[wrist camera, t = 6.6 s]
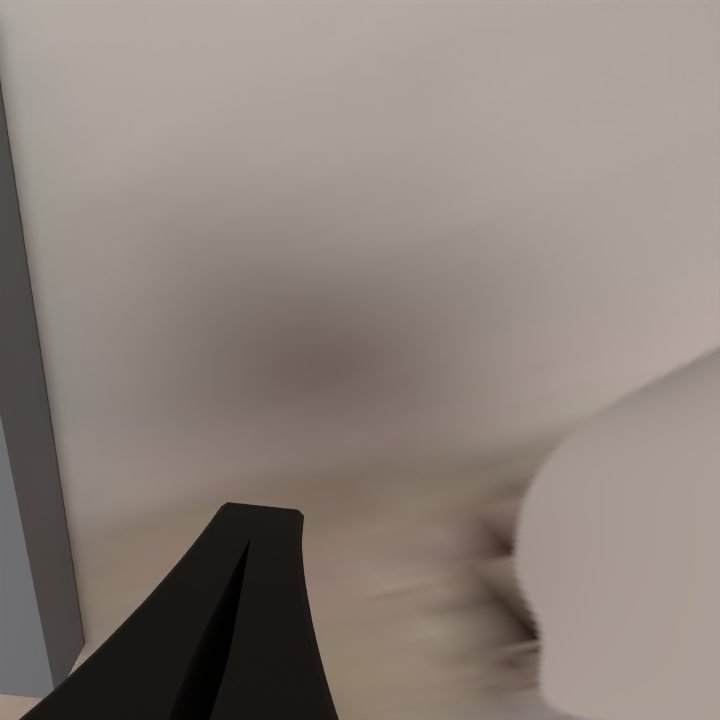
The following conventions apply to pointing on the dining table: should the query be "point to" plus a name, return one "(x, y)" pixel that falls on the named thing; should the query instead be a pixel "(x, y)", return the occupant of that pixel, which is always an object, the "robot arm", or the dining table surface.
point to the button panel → (29, 485)
